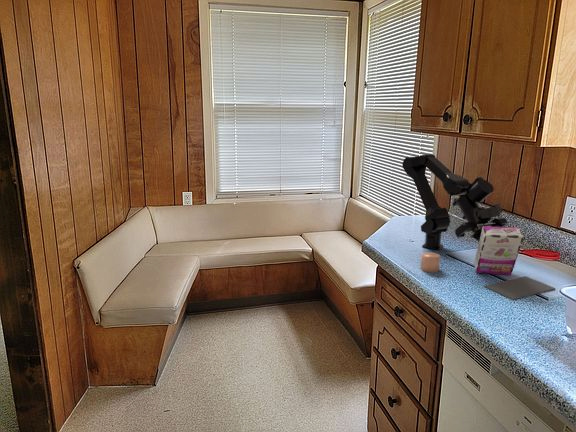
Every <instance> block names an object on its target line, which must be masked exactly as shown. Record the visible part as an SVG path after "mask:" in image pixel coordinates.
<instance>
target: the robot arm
mask: <svg viewBox="0 0 576 432" xmlns="http://www.w3.org/2000/svg"><path fill="white" fill-rule="evenodd" d="M402 169H403V171H404V172H405V175H407V176H408V177H409V178H411V179H412V180H413V182H414V185H415V187H416V190H417V191H418V194H419V196H420V199H421V202H422V204H423V206H424V208H425V215H424V220H425V222H423V223H422V224H421V225H420V232H422V233H424V234H425V238H424V239H425V242H424V243H423V244H422V246H421V247H422V248H426V249H432V250H437V251H439V250H440V249H441V248H443V246H444V244H443V243H441V241H442V233H446V232H447V231H448V228H449V227H450V224H451V216H450V214H449V211H448V209H447V208H446V207H441V206H440V205H439V203H438V201H437V198H436V197H435V194H434V192H433V190H432V188H431V187H432V186H431V185H430V183H429V180H428V178H427V175H426V170H429V171H430V172H431V173H432V174H433V175H435V177H436V178H437V179H439V181H441V182H442V187H443V189H444V190H445V192H446V193H447V194H448V195H449V196H451V197H455V196H458V197H455V198H453V202H452V207H457V206H458V207H459V208H460V210H461V212H462V214H463V216H462V217H461V218H462V220H466V221H467V222H463V223H461V224H460V225H459V226H458V227H457V228H456V229H455V230H454V234H455V235H456V237H457V238H458V239H460V238H464V237H465V235H466V233H468V232H471V233H472V234H471V235H470V238H471V239H475V240H476V241H477V242H479V240H480V236H481V232H482V228H483V226H487V227H506V225H508V223H509V222H508V221H507V219H506V217H501V214H502V212H503V209H502V207H501V206H500V204H493V205H491V206H490V207H487V208H485V207H483V206H481V207H480V205H479V203H481V202H483V201H484V200H485V199H486V198H488V197H489V196H490V195H491V194H492V193H493V192H494V191H495V190H494V186H493V184H492V183H490V182H489V181H488V180H485V179H484V177H482V176H479V177H476V178H475V179H474V181H473V182H469V180H468V179H466V178H465V177H463V176H461V175H458V174H455V173H454V172H453V171H451V169H449V168H448V167H447V166H445V164H443V163H442V162H441V161H440V160H439V159H438V158H437V157H436V155H435V154H432V153H424V154H421V155H417V156H407V157H405V158H404V159H403V161H402ZM492 218H493V219H492Z"/></svg>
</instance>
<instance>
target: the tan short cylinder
mask: <svg viewBox="0 0 576 432" xmlns="http://www.w3.org/2000/svg"><path fill="white" fill-rule="evenodd" d="M440 260H441V254H438V253H435V252H429V251H428V252H426V251H425V252H422V253H421V256H420V270H421V271H423V272H426V273H437V272H439V270H440V263H441V261H440Z"/></svg>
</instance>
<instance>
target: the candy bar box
mask: <svg viewBox="0 0 576 432" xmlns="http://www.w3.org/2000/svg"><path fill="white" fill-rule="evenodd" d="M523 240H524V235H523V232H522V230H521V227H515V226H514V227H511V226H509V227H507V226H504V227H487V226H483V228H482V232H481V236H480V240H479V241H478V245H477V249H476V252H475V257H474V260H473V261H474V262H473V264H474V265H473V266H474V270H475V273H476V274H486V275H487V274H488V275H489V274H490V275H509V276H512V274H513V271H514V269H515V265H516V262H517V259H518V255H519V252H520V250H521V246H522V243H523Z"/></svg>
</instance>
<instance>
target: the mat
mask: <svg viewBox="0 0 576 432" xmlns="http://www.w3.org/2000/svg"><path fill="white" fill-rule="evenodd" d="M483 287H484V288H486V289H488V290H490V291H492V292H494V293H496V294H498V295H500V296H503V297H505V298H507V299H510V300H512V301H515V300H519V299H524V298H527V297H531V296H535V295H539V294H543V293H546V291H547V292H550V291H555V290H556V287H553V286H551V285H548V284H546V283H543V282H541V281H538V280H536V279H534V278H531V277H529V276H526V275H525V276H521V277H516V278H513V279H512V278H511V279H508V280H503V281H499V282H494V283H490V284H486V285H484V286H483ZM542 292H543V293H542Z"/></svg>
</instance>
